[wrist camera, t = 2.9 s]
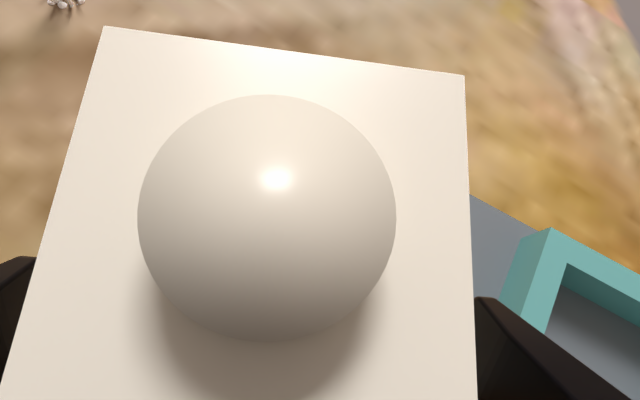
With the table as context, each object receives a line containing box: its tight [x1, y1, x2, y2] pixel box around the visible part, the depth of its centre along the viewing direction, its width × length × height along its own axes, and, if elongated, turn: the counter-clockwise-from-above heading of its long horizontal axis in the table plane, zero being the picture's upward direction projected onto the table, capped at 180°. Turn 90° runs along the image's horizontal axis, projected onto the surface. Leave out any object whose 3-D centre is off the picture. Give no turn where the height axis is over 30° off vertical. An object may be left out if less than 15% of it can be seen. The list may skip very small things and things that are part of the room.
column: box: [0, 26, 478, 400], centre depth 10 cm, size 5×5×13 cm
